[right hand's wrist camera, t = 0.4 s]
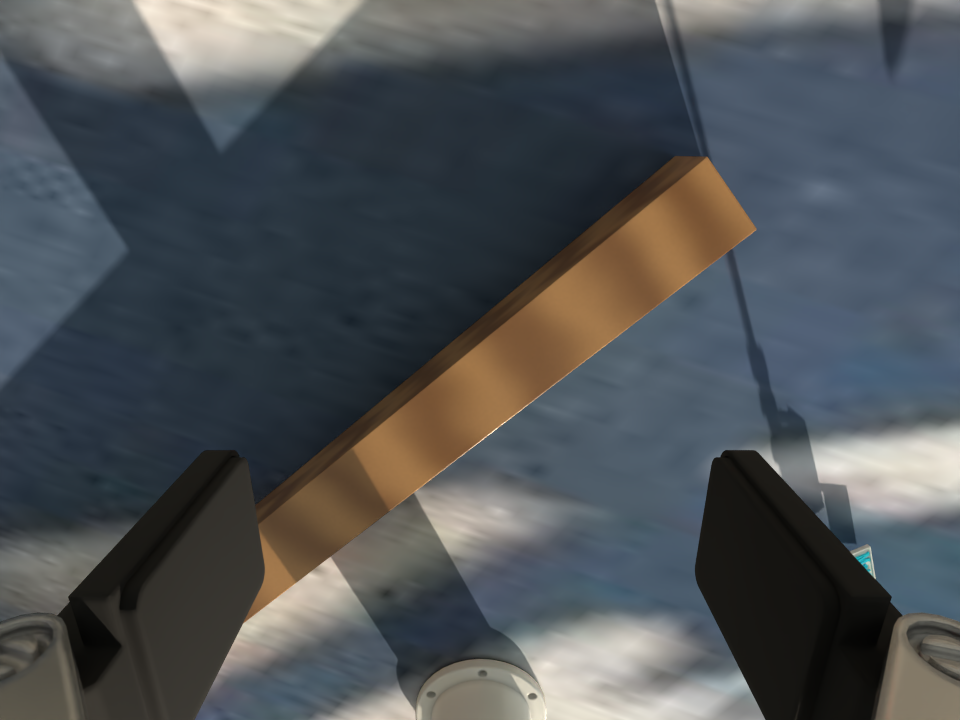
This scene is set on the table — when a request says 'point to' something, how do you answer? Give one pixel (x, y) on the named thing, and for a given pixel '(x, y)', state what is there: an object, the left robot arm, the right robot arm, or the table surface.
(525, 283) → the beam
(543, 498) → the table surface
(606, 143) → the table surface
